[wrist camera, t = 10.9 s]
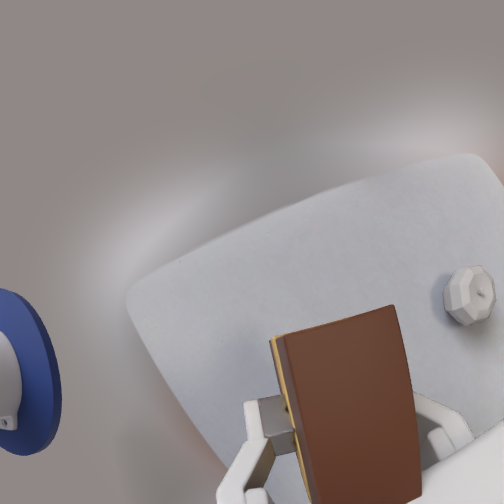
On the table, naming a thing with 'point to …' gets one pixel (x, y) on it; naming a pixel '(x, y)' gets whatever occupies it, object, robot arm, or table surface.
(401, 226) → the table surface
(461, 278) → the apple
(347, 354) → the chocolate bar
